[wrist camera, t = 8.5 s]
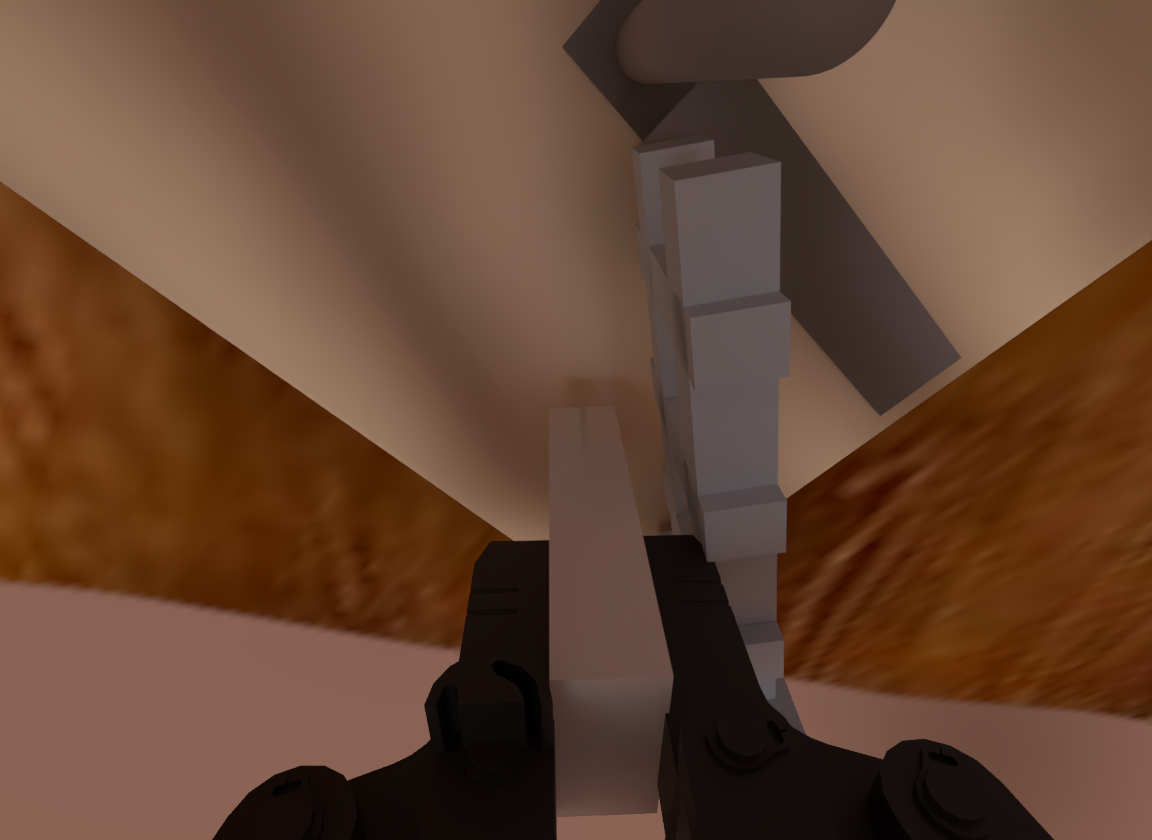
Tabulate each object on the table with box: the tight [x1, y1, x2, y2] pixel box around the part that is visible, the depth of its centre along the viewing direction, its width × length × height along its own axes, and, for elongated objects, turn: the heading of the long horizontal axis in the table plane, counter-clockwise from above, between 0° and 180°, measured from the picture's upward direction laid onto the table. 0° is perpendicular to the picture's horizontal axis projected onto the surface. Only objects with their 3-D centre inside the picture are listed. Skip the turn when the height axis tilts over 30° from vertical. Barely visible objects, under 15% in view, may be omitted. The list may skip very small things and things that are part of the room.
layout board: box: [0, 0, 1152, 541], centre depth 11 cm, size 22×20×1 cm
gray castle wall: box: [631, 135, 806, 735], centre depth 11 cm, size 12×2×7 cm, turn 9°
